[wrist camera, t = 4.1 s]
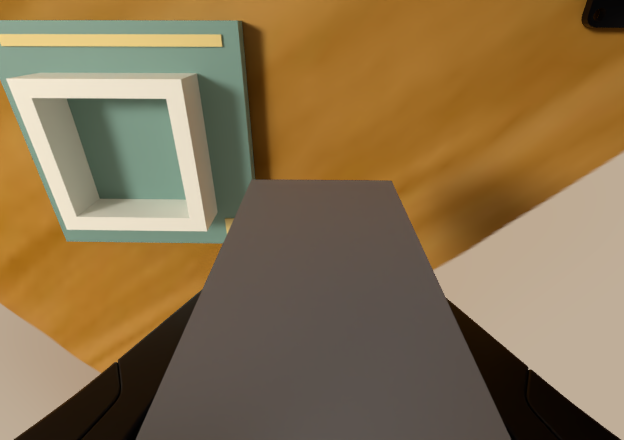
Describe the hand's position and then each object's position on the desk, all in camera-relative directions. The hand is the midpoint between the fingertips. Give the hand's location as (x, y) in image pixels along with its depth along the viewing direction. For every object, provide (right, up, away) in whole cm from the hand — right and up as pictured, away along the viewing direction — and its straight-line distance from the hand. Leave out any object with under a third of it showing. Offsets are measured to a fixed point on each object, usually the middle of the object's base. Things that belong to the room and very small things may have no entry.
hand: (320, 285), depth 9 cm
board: (-10, +6, +11) cm, 15 cm away
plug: (0, +1, +2) cm, 2 cm away
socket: (-10, +6, +11) cm, 15 cm away
